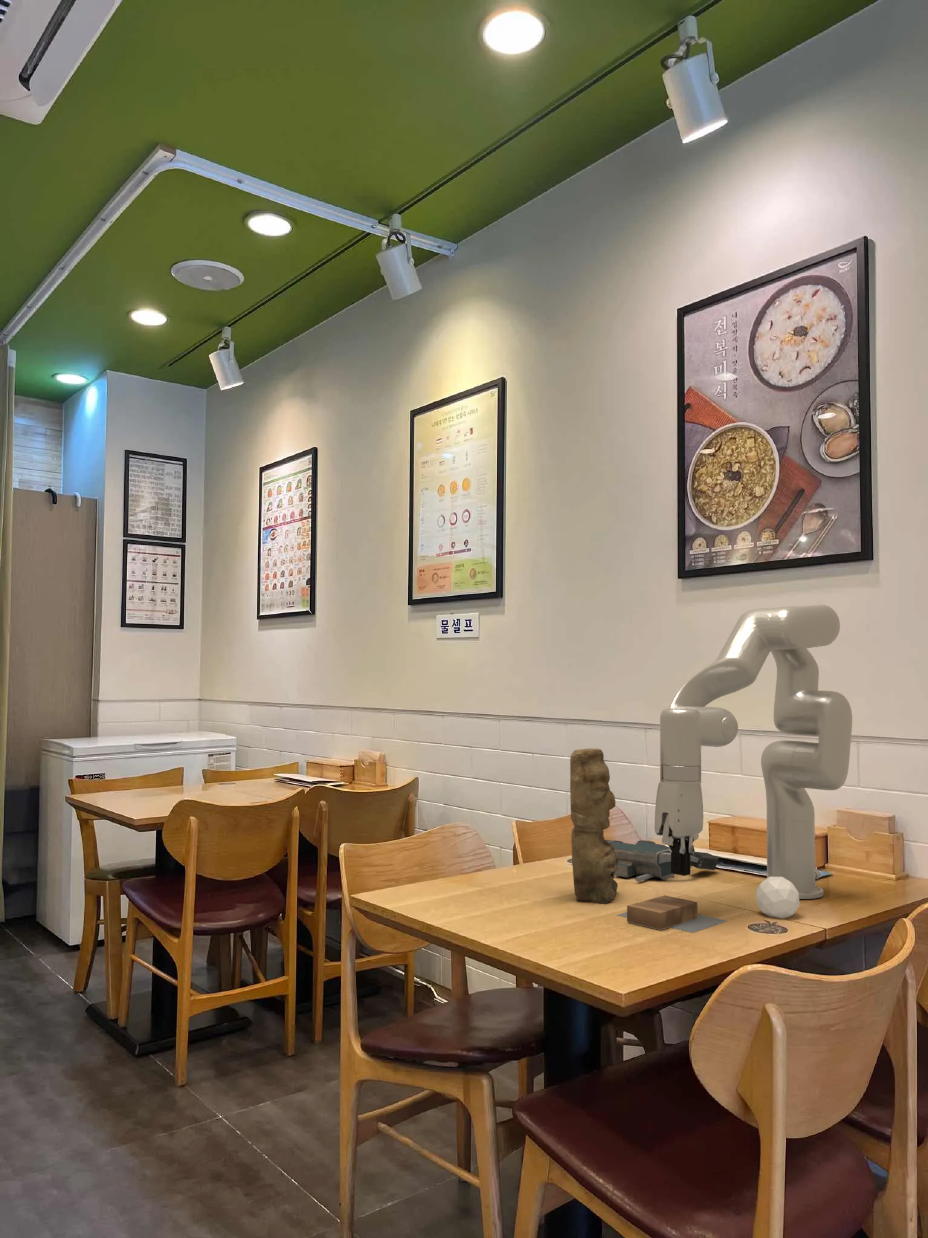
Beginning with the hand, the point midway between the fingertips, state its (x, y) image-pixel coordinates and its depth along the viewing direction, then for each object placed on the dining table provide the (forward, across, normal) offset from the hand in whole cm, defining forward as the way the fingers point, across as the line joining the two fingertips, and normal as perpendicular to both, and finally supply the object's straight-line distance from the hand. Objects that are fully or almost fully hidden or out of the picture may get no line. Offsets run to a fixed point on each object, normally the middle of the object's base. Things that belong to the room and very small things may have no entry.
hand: (680, 874), depth 171 cm
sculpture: (+8, 0, -20) cm, 22 cm away
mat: (+8, +3, 0) cm, 9 cm away
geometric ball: (+8, -14, +12) cm, 20 cm away
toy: (+9, -34, -29) cm, 45 cm away
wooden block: (+6, 0, 0) cm, 6 cm away
